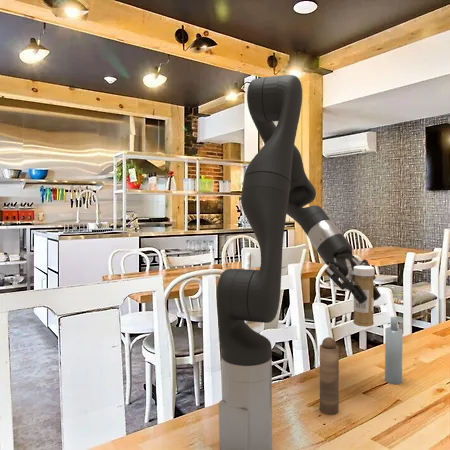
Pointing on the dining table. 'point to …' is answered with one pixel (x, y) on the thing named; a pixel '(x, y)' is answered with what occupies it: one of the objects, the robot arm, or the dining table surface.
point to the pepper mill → (329, 377)
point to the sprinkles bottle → (365, 282)
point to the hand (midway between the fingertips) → (370, 299)
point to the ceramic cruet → (393, 352)
